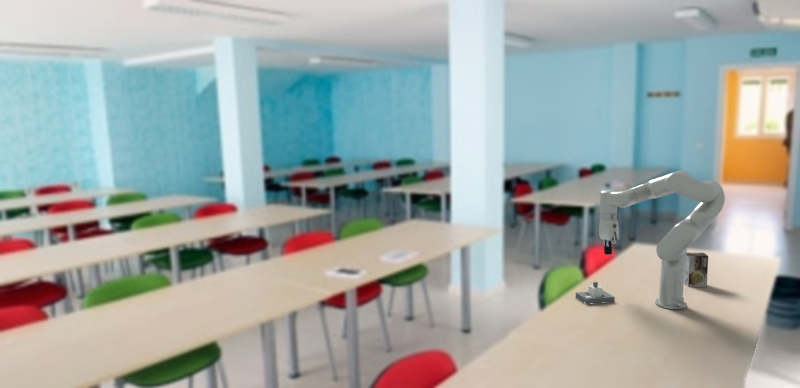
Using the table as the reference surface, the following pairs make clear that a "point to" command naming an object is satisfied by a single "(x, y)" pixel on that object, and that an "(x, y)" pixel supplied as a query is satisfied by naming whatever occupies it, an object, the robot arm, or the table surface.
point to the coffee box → (696, 270)
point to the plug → (595, 290)
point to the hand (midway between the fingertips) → (608, 253)
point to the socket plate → (588, 299)
